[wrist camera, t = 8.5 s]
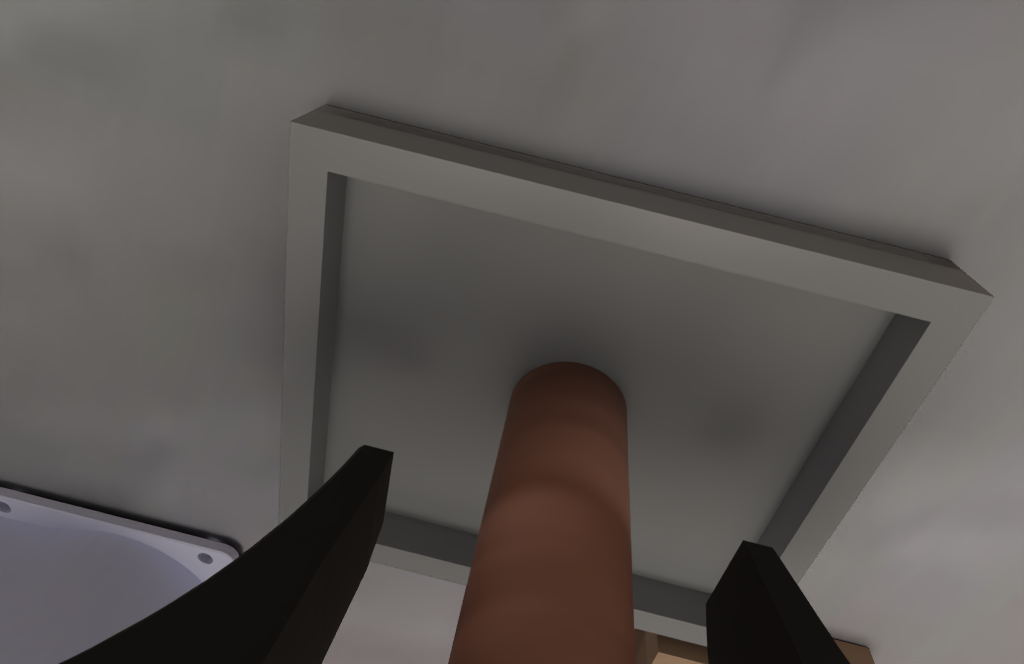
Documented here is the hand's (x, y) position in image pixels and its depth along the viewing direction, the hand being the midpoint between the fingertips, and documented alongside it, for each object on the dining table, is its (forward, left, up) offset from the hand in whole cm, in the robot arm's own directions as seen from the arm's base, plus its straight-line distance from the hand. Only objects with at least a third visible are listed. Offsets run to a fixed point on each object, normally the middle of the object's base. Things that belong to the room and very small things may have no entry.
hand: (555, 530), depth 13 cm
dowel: (0, 0, -4) cm, 4 cm away
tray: (0, 0, -5) cm, 5 cm away
